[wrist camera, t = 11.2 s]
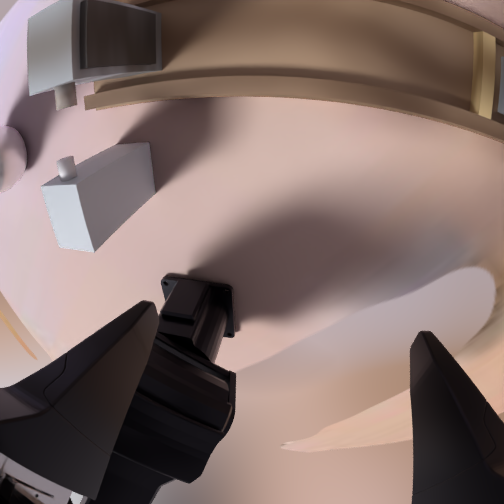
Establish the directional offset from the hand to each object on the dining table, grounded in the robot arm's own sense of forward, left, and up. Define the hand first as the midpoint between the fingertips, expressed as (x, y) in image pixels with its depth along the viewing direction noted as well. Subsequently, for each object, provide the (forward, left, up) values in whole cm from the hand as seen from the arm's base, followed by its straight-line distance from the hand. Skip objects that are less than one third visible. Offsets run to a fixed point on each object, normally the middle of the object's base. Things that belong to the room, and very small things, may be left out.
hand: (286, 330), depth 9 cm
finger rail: (+10, -2, -12) cm, 16 cm away
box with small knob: (+1, +12, -12) cm, 17 cm away
